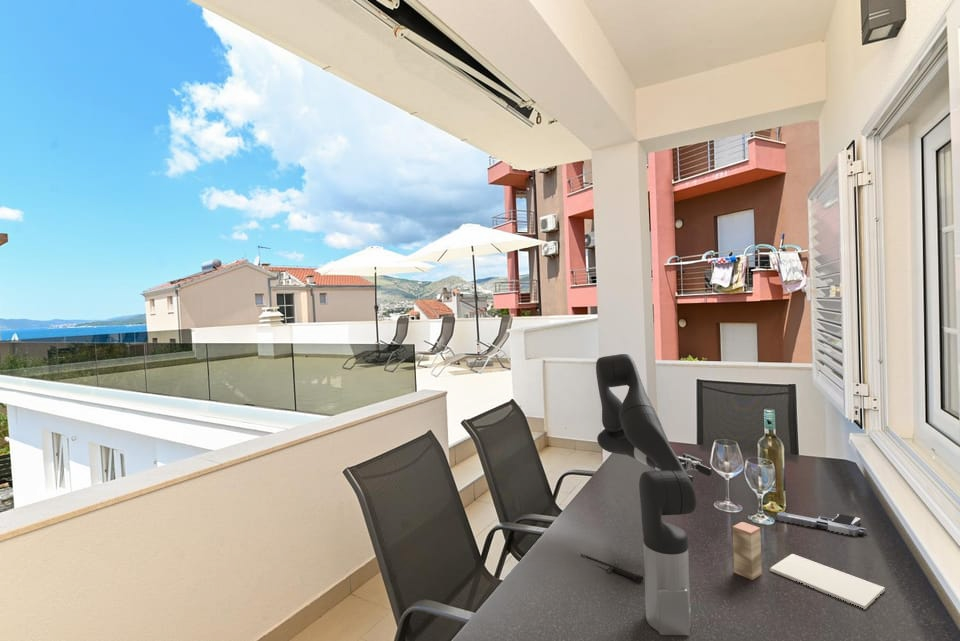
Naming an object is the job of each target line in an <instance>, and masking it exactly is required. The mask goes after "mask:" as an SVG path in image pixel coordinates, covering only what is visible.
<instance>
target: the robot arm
mask: <svg viewBox="0 0 960 641" xmlns="http://www.w3.org/2000/svg"><path fill="white" fill-rule="evenodd" d="M595 373H596V375H595V376H596V380H597V387H598V392H599V399H600V404H601V422H602V427H603V428H604V429H603V430H601V431H600V432H599V434H598V435H597V438H596V440H597V443H598V446H600V447H601V449H603V450H604V451H606V452H608V453H610V454H611V453H612V454H616V455H617V454H618V455H623V456H628V457H631V458H633V459H635V460H637V461H638V462H640V463H641V464H643V465H645V466H647V467H649V468H652V469H654V470H651V471H650V470H647V471H643V472H642V473H641V474H640V476H639V480H638V481H639V482H638V486H639V487H638V489H639V492H638V493H639V499H640V500H639V503H640V512H641V513H640V514H641V526H642V536H643V538H642V539H643V563H644V565H643V566H644V570H643V571H644V597H645V617H646V621H647V623H648V625H649V626H650V627H651V628H653V629H654V630H656V631H657V632H658V634H659V635H660V636H690V634H691V632H690V631H691V627H692V620H691V619H692V617H691V615H692V614H691V594H690V592H691V591H690V586H691V585H690V564H689V562H690V559H689V556H690V555H689V537H688V534H687V532H686V531H685V530H683V529H682V528H681V527H679V526H677V525H675V524H672V523H670V522H669V523H668V522H666V521H664V520H662V516H681V515H689V514H691V513H693V512H695V510H696V508H697V495H696V490H695V488H694V485H693V483H694V477H693V475H691V474H688V473H687V472H691V471H696V472H699V473H701V474H704V475H705V476H708V477H711V476H712V474H713V469H712V468H711V467H708V466H706V465H704V464H703V459H701V458H698V457H695V456H693V455H691V454H689V453H685V452H683V453H682V456H679V455H677V453H676V452H675V451H674V449H673V447H672V446H671V443H670V441H669V440H668V437H667V435H666V433H665V431H664V428H663V426H662V423H661V421H660V418H659V417H658V415H657V412H656V410H655V408H654V406H653V404H652V402H651V400H650V398H649V396H648V394H647V392H646V390H645V388H644V385H643V382H642V379H641V376H640V374H639V371H638V368H637V366H636V364H635V361H634V359H633V357H632V356H631V355H629V354H627V353H621V354H613V355H606V356H601V357H598V358H597V359H596V362H595ZM622 386H627V387H628V389H627V393H626V396H625V398H624V399H623V401H622V400H620V398H619V397H618V396H617V395H615V394H614V392H612V390H611V389H610V388H616V387H622ZM687 465H688V466H687Z"/></svg>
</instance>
